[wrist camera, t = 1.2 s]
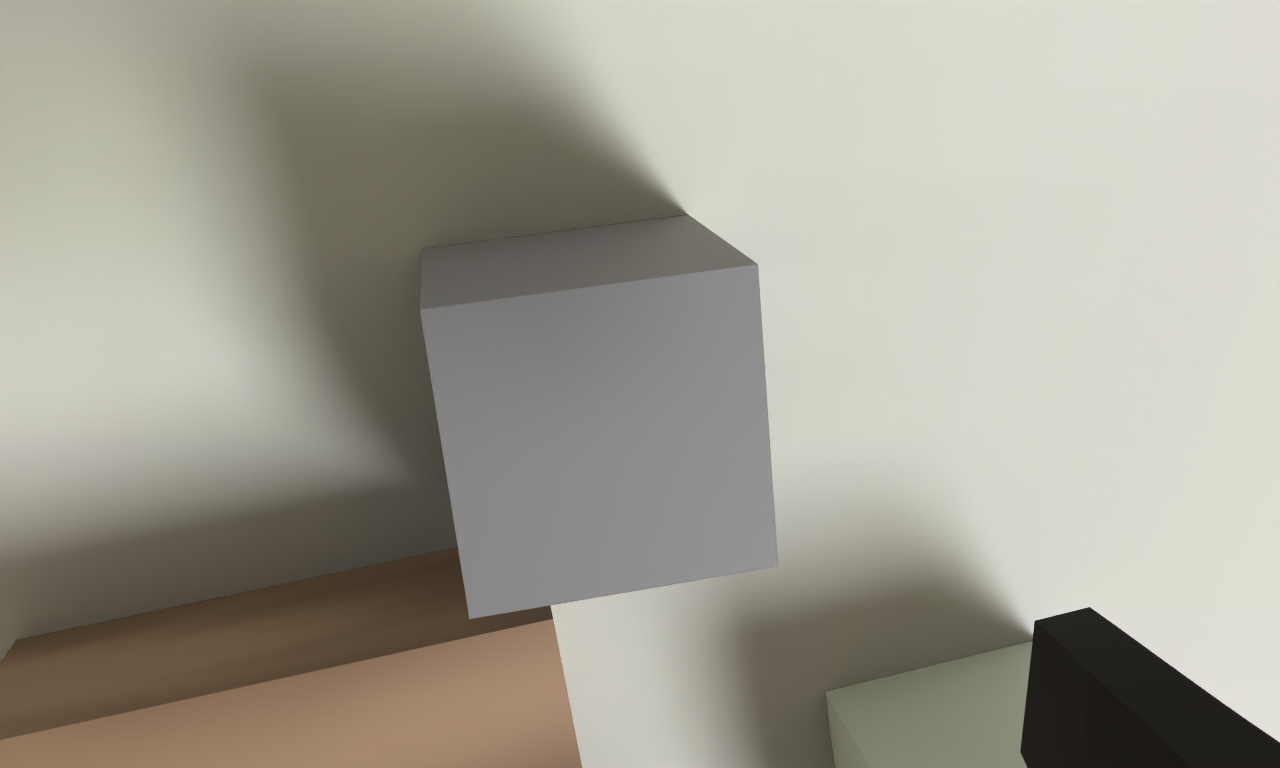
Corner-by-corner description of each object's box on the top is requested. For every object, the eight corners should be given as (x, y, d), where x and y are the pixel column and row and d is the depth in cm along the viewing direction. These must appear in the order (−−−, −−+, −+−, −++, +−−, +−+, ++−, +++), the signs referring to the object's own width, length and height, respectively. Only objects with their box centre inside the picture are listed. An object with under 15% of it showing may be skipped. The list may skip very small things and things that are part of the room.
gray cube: (708, 458, 23) (777, 566, 19) (461, 497, 23) (469, 618, 18) (686, 214, 22) (757, 264, 17) (421, 247, 21) (419, 309, 17)
